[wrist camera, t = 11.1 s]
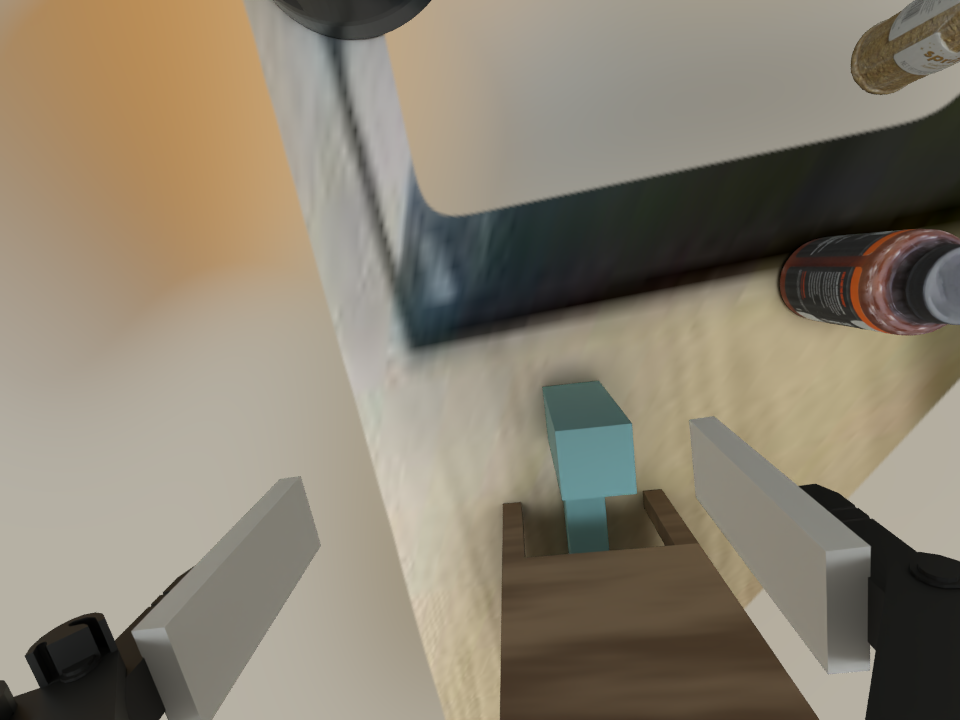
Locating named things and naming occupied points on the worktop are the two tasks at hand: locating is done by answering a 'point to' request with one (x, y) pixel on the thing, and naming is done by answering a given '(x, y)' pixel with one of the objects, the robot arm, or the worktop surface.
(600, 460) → the teal stepped block
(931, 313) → the supplement bottle
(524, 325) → the worktop surface
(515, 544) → the cabinet
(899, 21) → the sprinkles bottle
